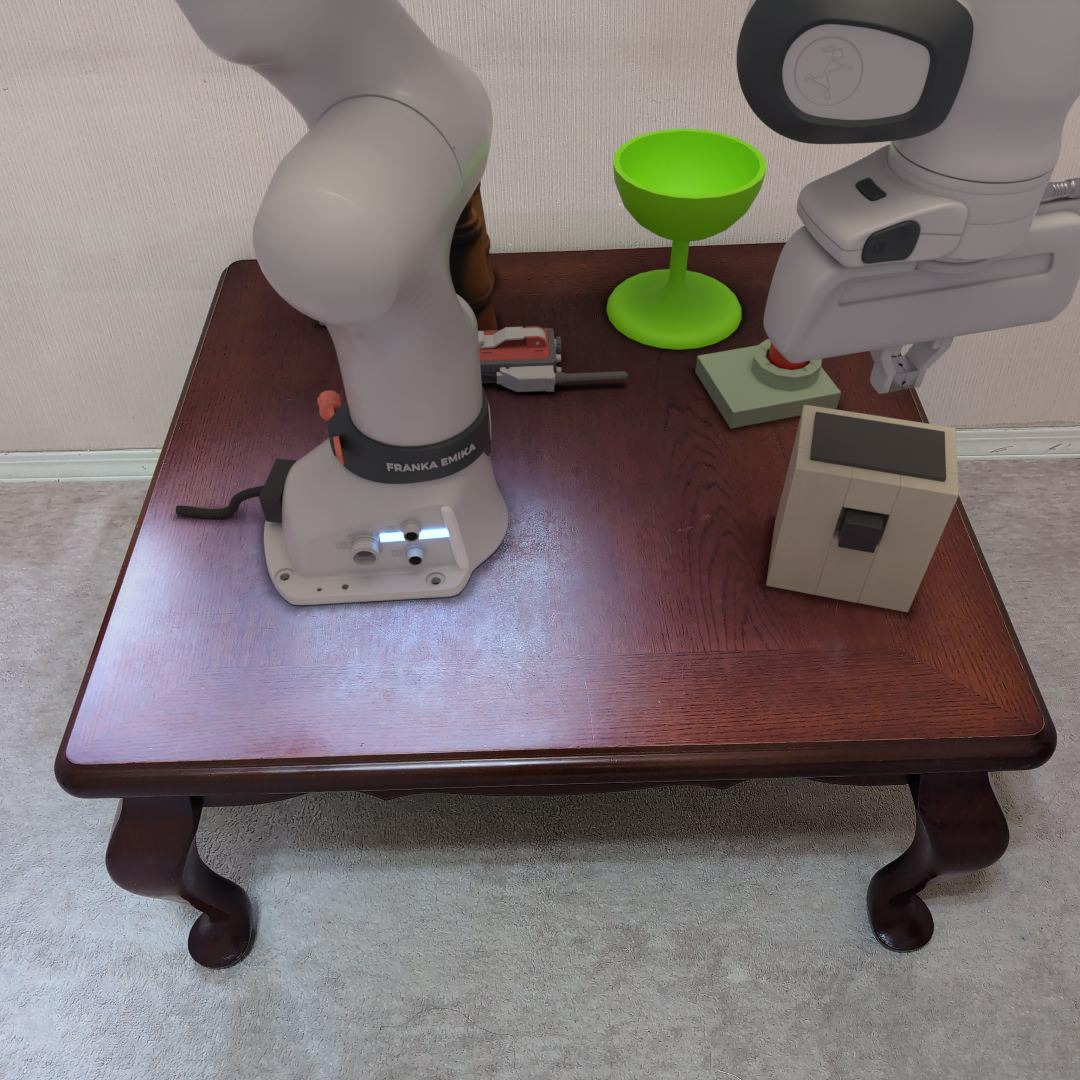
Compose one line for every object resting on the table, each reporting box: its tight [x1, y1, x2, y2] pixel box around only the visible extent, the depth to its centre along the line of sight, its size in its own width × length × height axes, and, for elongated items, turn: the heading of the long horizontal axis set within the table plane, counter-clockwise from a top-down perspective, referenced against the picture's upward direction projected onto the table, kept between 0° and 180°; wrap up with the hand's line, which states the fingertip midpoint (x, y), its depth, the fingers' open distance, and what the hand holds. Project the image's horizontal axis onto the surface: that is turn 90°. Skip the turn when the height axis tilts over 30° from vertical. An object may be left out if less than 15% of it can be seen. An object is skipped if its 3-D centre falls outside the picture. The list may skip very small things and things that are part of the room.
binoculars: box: [449, 179, 498, 331], centre depth 106 cm, size 18×8×20 cm, turn 4°
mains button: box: [768, 342, 807, 370], centre depth 99 cm, size 4×4×2 cm
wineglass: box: [605, 127, 768, 351], centre depth 106 cm, size 16×16×18 cm
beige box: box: [765, 405, 960, 613], centre depth 79 cm, size 12×8×14 cm, turn 75°
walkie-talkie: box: [478, 325, 629, 393], centre depth 103 cm, size 9×4×20 cm
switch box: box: [694, 338, 842, 429], centre depth 100 cm, size 12×10×4 cm
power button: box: [838, 508, 883, 553], centre depth 75 cm, size 3×2×3 cm
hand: (893, 385), depth 65 cm, fingers closed
